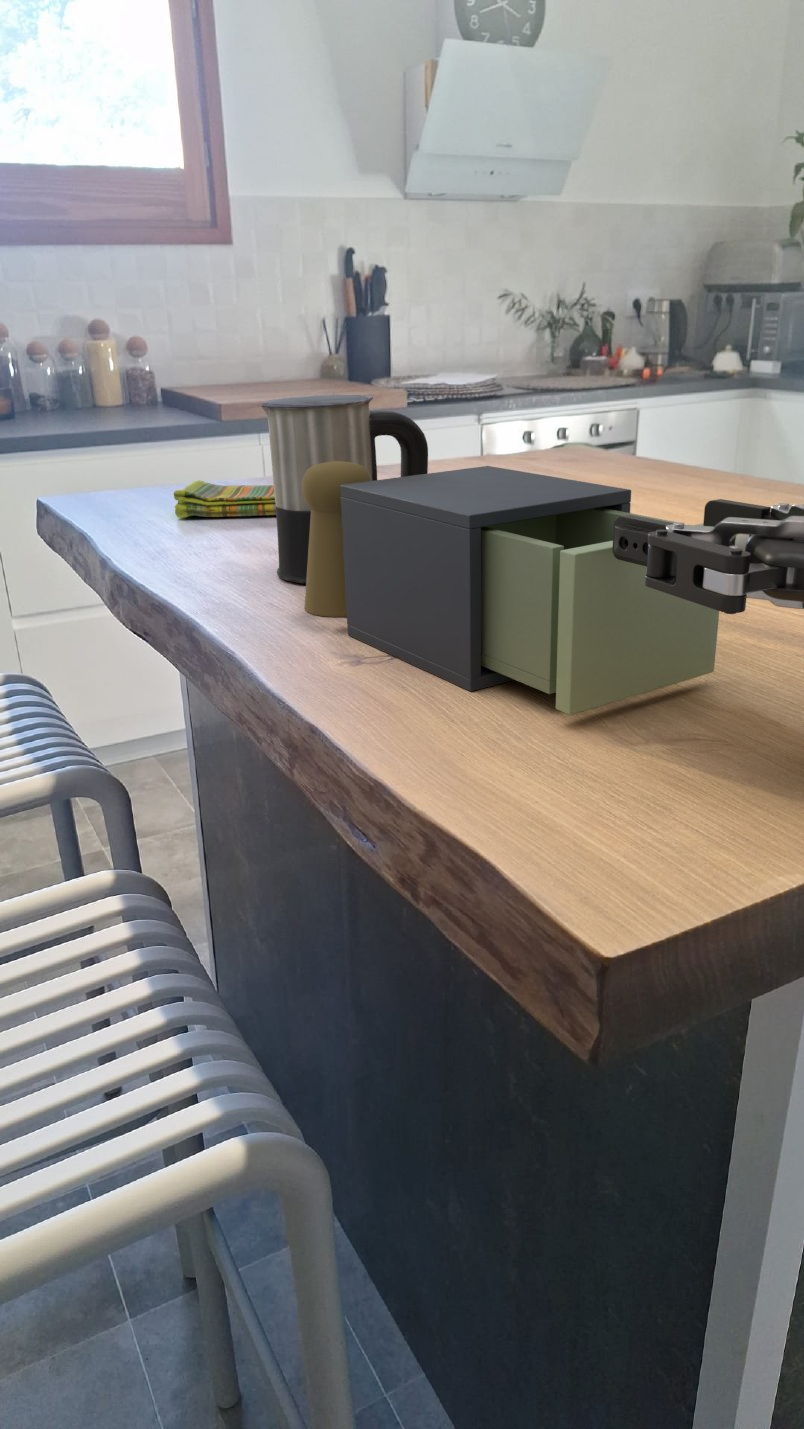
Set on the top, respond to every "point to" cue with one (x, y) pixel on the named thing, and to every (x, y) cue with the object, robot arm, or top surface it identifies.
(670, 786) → the top surface
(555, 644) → the drawer
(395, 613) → the cabinet
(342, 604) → the olive pawn
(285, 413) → the milk frother
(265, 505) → the dish towel
